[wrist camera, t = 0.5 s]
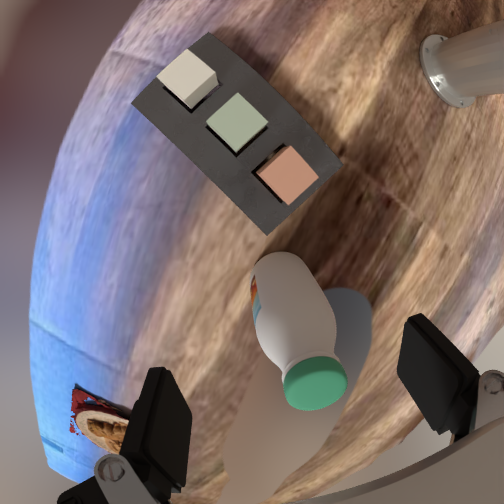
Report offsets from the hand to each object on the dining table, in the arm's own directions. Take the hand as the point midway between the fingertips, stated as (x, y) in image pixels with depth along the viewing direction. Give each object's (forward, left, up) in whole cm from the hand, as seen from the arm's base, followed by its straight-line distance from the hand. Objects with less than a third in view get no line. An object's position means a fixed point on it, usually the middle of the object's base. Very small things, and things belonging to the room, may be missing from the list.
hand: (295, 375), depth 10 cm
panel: (-6, -9, -25) cm, 28 cm away
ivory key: (-6, -16, -23) cm, 29 cm away
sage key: (-6, -9, -22) cm, 25 cm away
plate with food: (+55, +14, -26) cm, 62 cm away
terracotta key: (-6, -2, -23) cm, 24 cm away
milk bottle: (+3, +8, -25) cm, 27 cm away
